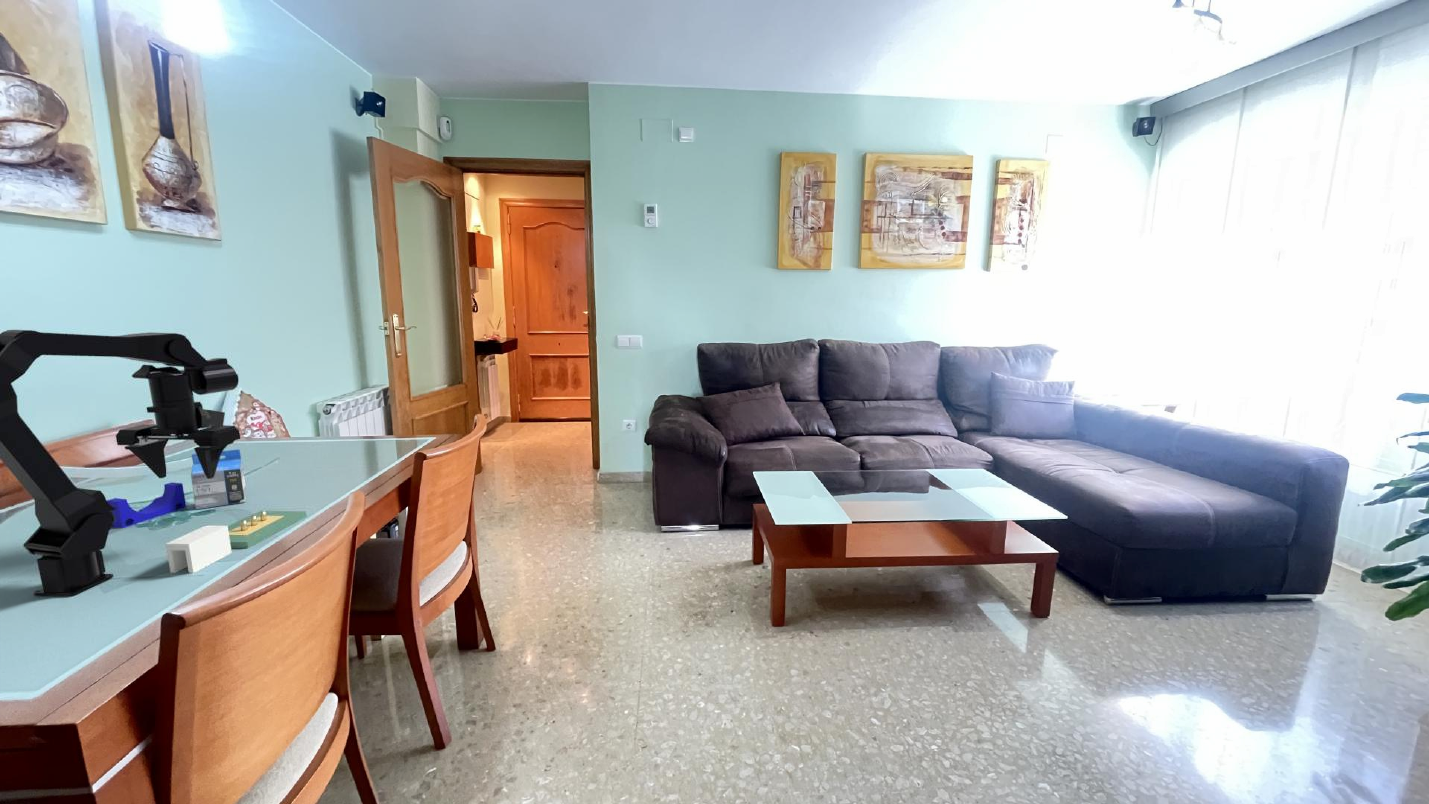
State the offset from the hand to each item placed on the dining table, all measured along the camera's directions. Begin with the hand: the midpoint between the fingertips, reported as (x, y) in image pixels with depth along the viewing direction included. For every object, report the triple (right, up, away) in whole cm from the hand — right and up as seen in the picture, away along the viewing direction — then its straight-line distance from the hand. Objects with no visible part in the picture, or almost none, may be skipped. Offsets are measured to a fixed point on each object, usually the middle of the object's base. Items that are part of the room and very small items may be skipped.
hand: (186, 477), depth 108 cm
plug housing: (+9, -15, -6) cm, 18 cm away
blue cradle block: (-22, -11, +14) cm, 28 cm away
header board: (+7, -12, +7) cm, 16 cm away
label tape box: (-12, -9, +22) cm, 27 cm away
